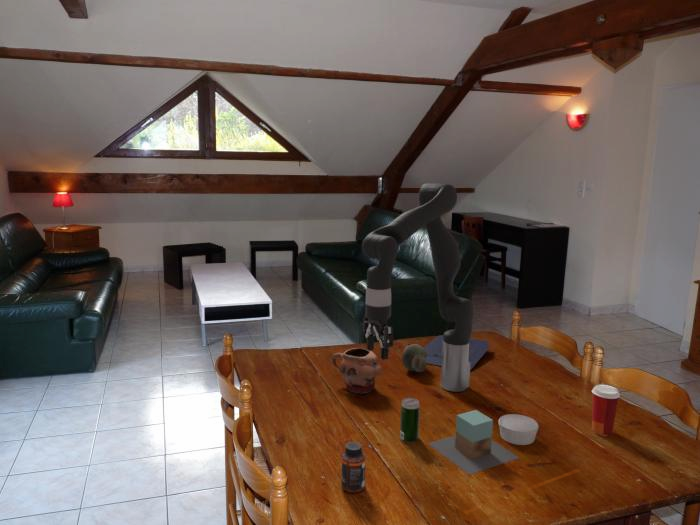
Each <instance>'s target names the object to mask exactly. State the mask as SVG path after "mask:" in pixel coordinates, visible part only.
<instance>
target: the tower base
mask: <svg viewBox="0 0 700 525" xmlns="http://www.w3.org/2000/svg"><path fill="white" fill-rule="evenodd" d="M455 435H456V439H455V448H456V449H458V450H459V451H460V452H462V453H463V454H465V455H466V456H467V457H469V458H470V459H474V458H477V457H480V456H484V455H487V454H490V453H491V443H492V440H493V436H492V437H489V438H486V439H483V440H479V441H476V442H473V443H472V442H471V441H469V440H468V439H466V438H465V437H463V436H462V435H460V434H459V433H458V432H456V431H455Z"/></svg>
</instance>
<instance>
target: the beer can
mask: <svg viewBox="0 0 700 525" xmlns="http://www.w3.org/2000/svg"><path fill="white" fill-rule="evenodd" d="M420 407H421V405H420V401H419V400H418V399H417V398H411V397H407V398H403V399H402V400H401V404H400V430H399V433H400V434H399V438H400V440H401V441H403V442H405V443H409V444H410V443H415V442H418V440H419V433H420V412H421V411H420V410H421V408H420Z"/></svg>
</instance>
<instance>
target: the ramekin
mask: <svg viewBox="0 0 700 525" xmlns="http://www.w3.org/2000/svg"><path fill="white" fill-rule="evenodd" d="M537 422H538V421H536V420H535V419H533V418H532V417H529V416H527V415H522V414H515V413H512V414H504V415H501V416H500V418H499V419H498V422H497V424H498V427H499V434H500V437H501V439H503V440H504V441H505V442H507V443H510V444H512V445H517V446H527V445H531V444H532V443H534V441H535V440H536V436H537V432H538V430H539V423H537Z"/></svg>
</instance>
